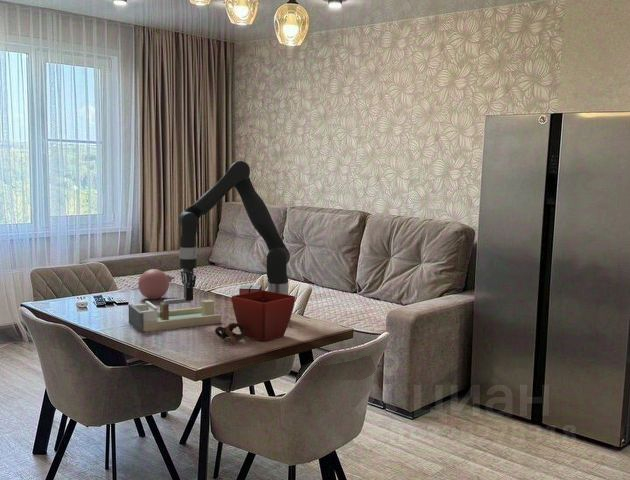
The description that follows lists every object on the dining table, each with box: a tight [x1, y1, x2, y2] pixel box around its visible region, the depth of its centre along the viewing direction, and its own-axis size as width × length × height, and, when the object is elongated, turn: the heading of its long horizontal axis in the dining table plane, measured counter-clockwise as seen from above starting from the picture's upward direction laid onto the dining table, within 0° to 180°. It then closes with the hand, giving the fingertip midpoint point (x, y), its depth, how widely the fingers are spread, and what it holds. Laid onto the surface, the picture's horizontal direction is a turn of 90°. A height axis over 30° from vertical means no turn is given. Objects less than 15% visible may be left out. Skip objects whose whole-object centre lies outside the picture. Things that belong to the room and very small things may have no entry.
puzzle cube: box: [238, 284, 263, 295], centre depth 312 cm, size 10×10×10 cm
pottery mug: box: [214, 322, 246, 345], centre depth 251 cm, size 12×10×8 cm
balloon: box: [137, 268, 175, 300], centre depth 327 cm, size 15×20×15 cm
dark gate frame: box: [159, 281, 194, 320], centre depth 278 cm, size 5×14×16 cm, turn 121°
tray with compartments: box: [128, 299, 222, 333], centre depth 279 cm, size 18×36×9 cm, turn 121°
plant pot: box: [231, 289, 296, 342], centre depth 259 cm, size 19×19×17 cm
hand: (188, 295), depth 281 cm, fingers closed on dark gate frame, 3 cm apart
